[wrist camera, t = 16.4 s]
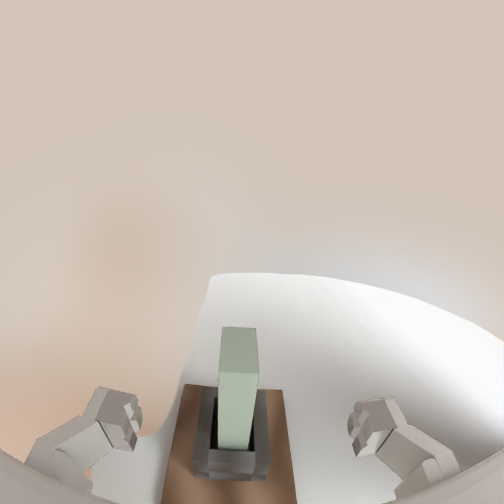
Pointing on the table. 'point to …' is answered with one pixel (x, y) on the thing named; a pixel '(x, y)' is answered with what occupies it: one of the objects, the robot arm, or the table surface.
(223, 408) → the pale green block
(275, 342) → the table surface
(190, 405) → the wooden base with socket
